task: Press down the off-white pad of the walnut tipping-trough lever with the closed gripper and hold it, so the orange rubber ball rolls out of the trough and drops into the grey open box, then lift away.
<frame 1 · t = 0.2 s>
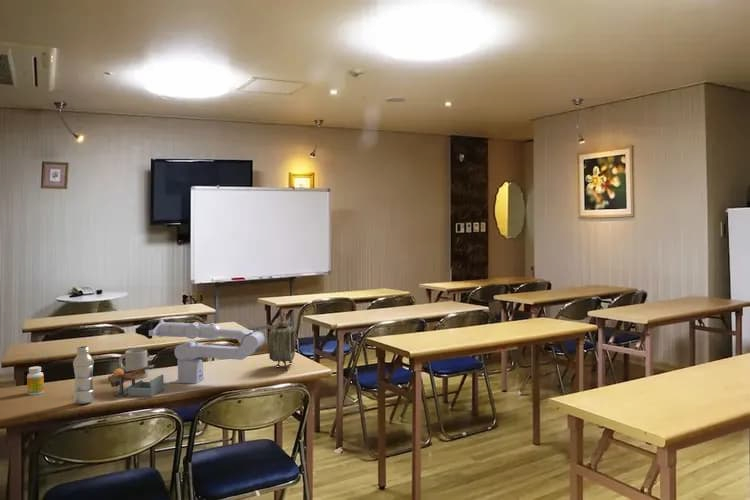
hand: (141, 328, 234), 21 cm above the table, tool horizontal, fingers open, 7 cm apart
supplement bottle: (35, 393, 218), on the table
ball: (118, 373, 217), point 7 cm above the table, tilted 12°, touching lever
grey open box: (146, 393, 216), on the table
mug: (133, 377, 240), on the table
plastic bottle: (84, 403, 204), on the table
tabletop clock: (282, 368, 253), on the table
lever: (132, 375, 220), point 6 cm above the table, hinge at -10.0°, touching ball
stand: (127, 392, 217), on the table
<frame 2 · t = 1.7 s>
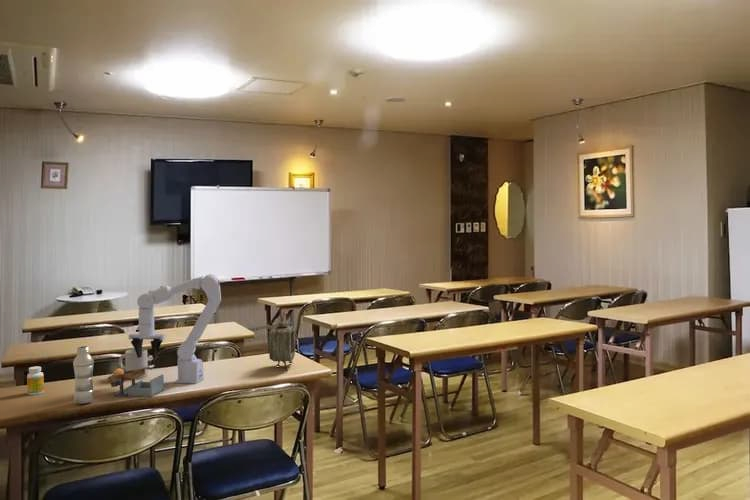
hand: (147, 357, 229), 10 cm above the table, tool pointing down, fingers open, 6 cm apart
nothing on the table moved.
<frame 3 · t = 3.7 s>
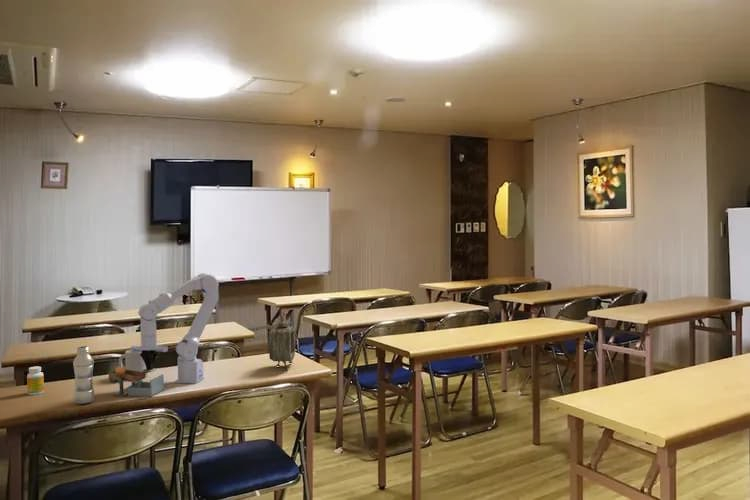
hand: (149, 369, 224), 7 cm above the table, tool pointing down, fingers closed, pressing on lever
ball: (120, 370, 217), point 8 cm above the table, tilted 10°, touching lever
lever: (132, 375, 220), point 6 cm above the table, hinge at 6.9°, touching ball, gripper
everything else where it was.
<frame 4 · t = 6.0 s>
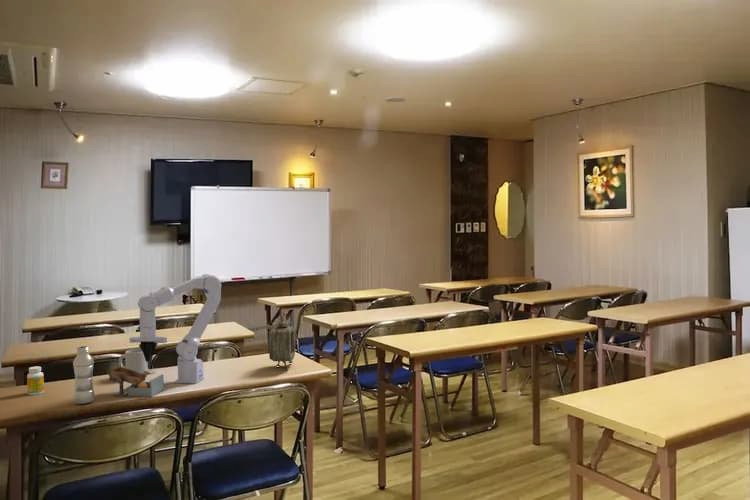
hand: (148, 361, 224), 10 cm above the table, tool pointing down, fingers closed
ball: (142, 386, 216), point 2 cm above the table, tilted 61°, touching grey open box, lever
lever: (132, 375, 220), point 6 cm above the table, hinge at 16.2°, touching ball
everything else where it was.
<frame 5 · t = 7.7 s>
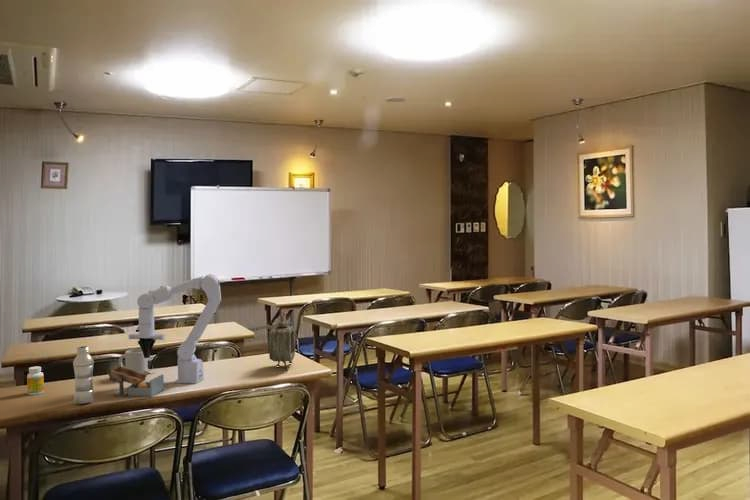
hand: (147, 357, 229), 10 cm above the table, tool pointing down, fingers closed
nothing on the table moved.
at the end: ball inside the target area (1.6 cm from its centre), point 2.3 cm above the table; ball touching grey open box, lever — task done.
